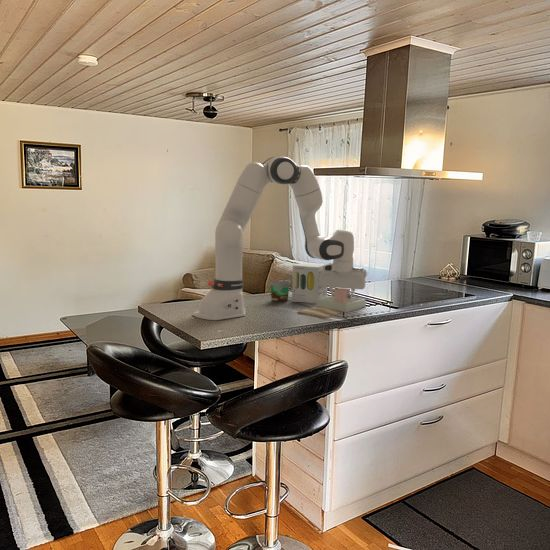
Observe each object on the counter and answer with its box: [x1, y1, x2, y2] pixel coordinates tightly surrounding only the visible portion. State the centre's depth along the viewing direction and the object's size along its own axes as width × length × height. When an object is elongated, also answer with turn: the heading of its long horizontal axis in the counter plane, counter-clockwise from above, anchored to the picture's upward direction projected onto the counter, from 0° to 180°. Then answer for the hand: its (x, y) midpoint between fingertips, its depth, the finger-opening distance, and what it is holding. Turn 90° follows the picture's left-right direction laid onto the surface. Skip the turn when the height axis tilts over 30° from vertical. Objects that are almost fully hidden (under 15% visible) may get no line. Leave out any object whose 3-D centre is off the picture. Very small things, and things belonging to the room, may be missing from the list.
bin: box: [316, 295, 367, 313], centre depth 225 cm, size 15×15×4 cm
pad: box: [297, 305, 345, 320], centre depth 214 cm, size 14×14×1 cm
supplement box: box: [291, 261, 328, 305], centre depth 238 cm, size 13×13×18 cm
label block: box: [333, 287, 351, 304], centre depth 225 cm, size 5×5×8 cm
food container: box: [269, 277, 292, 303], centre depth 237 cm, size 12×6×10 cm, turn 143°
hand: (341, 297), depth 225 cm, fingers closed on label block, 6 cm apart
